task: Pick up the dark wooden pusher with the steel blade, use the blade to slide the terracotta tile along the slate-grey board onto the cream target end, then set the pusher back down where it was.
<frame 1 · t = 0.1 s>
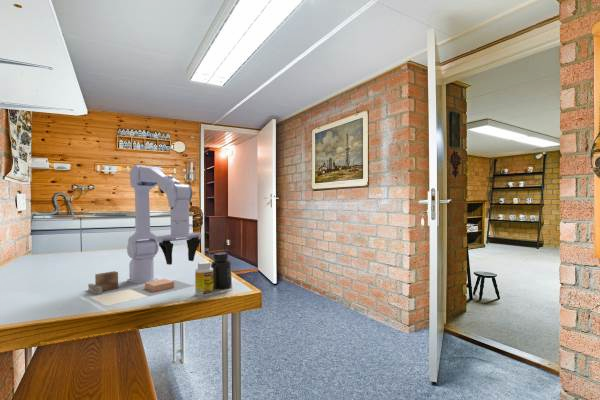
hand: (180, 262, 105), 10 cm above the table, tool pointing down, fingers open, 7 cm apart
cork: (220, 283, 117), on the table
terracotta tile: (159, 288, 110), resting on board
pusher: (106, 290, 109), on the table
supplement bottle 2: (204, 294, 103), on the table
board: (144, 292, 106), on the table
supplement bottle: (221, 288, 110), on the table
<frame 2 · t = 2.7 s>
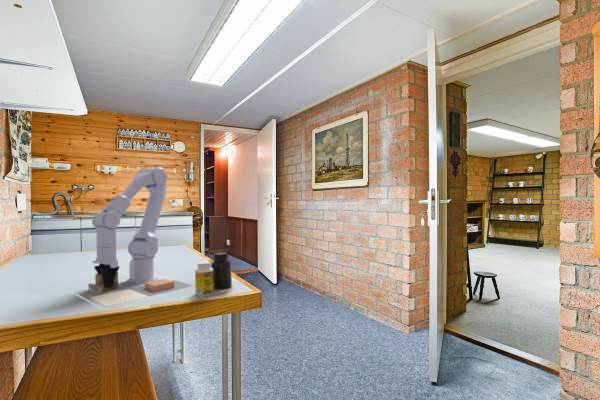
hand: (106, 286, 109), 1 cm above the table, tool pointing down, fingers closed on pusher, 3 cm apart
pusher: (106, 290, 109), on the table, touching gripper
everything else where it was.
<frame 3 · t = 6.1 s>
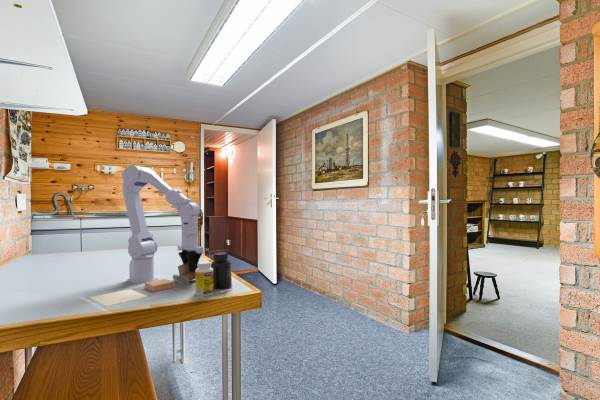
hand: (190, 271, 119), 4 cm above the table, tool pointing down, fingers closed on pusher, 3 cm apart
pusher: (190, 279, 119), point 1 cm above the table, tilted 11°, touching board, gripper
everything else where it was.
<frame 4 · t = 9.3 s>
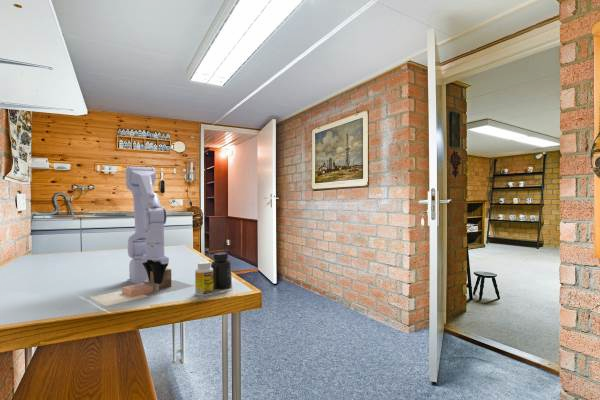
hand: (155, 282, 109), 2 cm above the table, tool pointing down, fingers closed on pusher, 3 cm apart
terracotta tile: (138, 292, 104), resting on board
pusher: (161, 287, 110), resting on board, touching gripper
everything else where it was.
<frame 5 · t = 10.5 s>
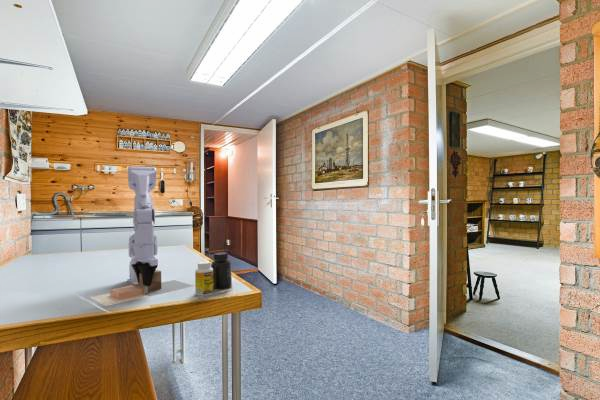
hand: (144, 285, 106), 2 cm above the table, tool pointing down, fingers closed on pusher, 3 cm apart
terracotta tile: (126, 295, 102), resting on board, touching pusher
pusher: (150, 289, 108), resting on board, touching gripper, terracotta tile
everything else where it was.
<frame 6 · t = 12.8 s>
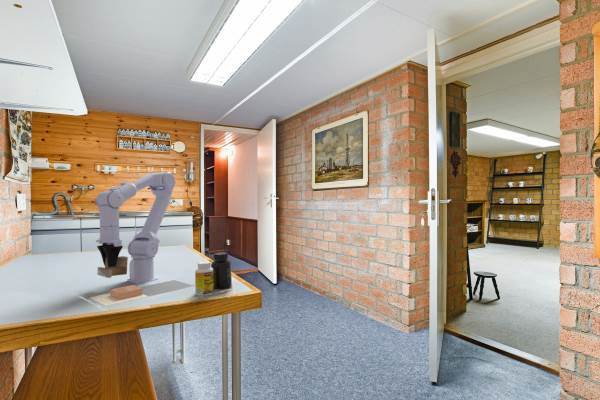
hand: (110, 266, 109), 8 cm above the table, tool pointing down, fingers closed on pusher, 3 cm apart
terracotta tile: (126, 295, 102), resting on board
pusher: (115, 274, 110), point 5 cm above the table, touching gripper
everything else where it was.
when the fingers open (2 cm above the table, at t = 14.5 s): pusher stays where it is, on the table.
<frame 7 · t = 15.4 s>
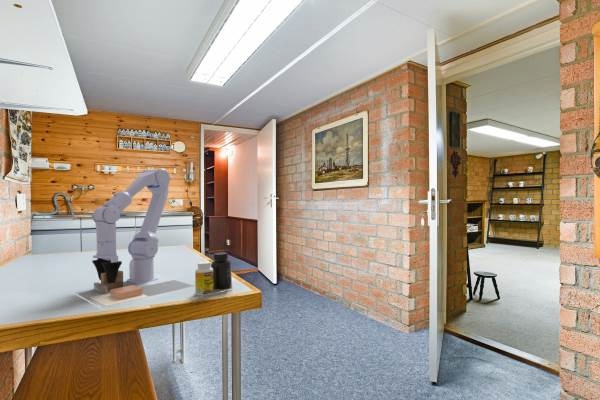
hand: (107, 281, 109), 3 cm above the table, tool pointing down, fingers open, 7 cm apart
pusher: (112, 289, 111), on the table
everything else where it was.
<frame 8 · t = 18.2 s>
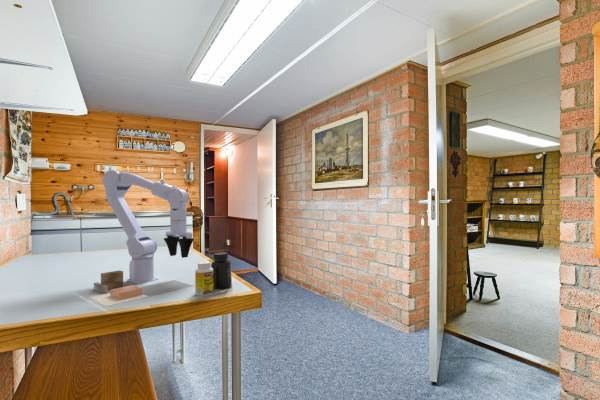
hand: (178, 256, 121), 9 cm above the table, tool pointing down, fingers open, 7 cm apart
nothing on the table moved.
at the end: terracotta tile inside the target area on the board (2.0 cm from its centre), point 0.4 cm above the board's base; terracotta tile tilted 0°; pusher inside the target area (1.7 cm from its centre), on the table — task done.
